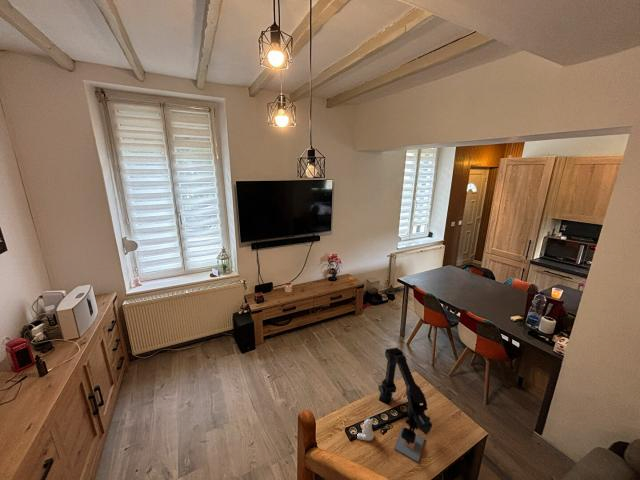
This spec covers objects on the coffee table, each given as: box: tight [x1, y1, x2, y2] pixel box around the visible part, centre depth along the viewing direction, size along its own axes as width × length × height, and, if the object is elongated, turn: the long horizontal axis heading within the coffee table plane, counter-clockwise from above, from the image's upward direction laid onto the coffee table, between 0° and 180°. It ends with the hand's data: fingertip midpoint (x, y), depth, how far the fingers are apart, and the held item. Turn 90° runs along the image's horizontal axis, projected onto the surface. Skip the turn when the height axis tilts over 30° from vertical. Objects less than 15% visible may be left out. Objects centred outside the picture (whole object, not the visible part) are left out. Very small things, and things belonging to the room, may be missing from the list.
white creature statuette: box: [356, 418, 375, 442], centre depth 141 cm, size 10×9×12 cm
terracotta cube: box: [404, 432, 418, 449], centre depth 137 cm, size 5×5×5 cm
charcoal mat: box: [393, 425, 425, 464], centre depth 138 cm, size 12×14×1 cm
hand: (410, 436), depth 136 cm, fingers open, 9 cm apart
